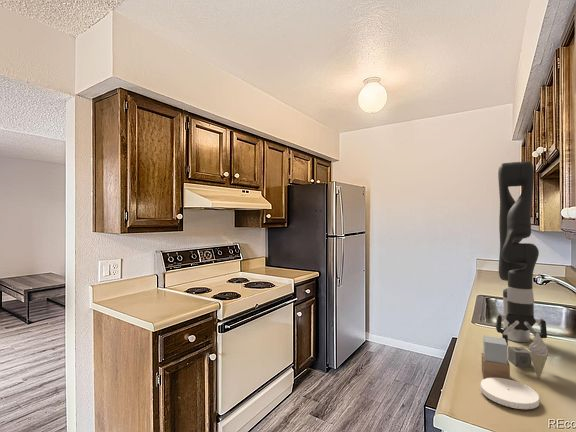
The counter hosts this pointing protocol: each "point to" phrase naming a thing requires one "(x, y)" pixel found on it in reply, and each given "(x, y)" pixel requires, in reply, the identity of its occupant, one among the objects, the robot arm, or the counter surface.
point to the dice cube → (519, 356)
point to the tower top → (495, 349)
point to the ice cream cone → (538, 354)
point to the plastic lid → (509, 393)
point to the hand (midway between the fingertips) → (520, 347)
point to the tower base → (495, 369)
